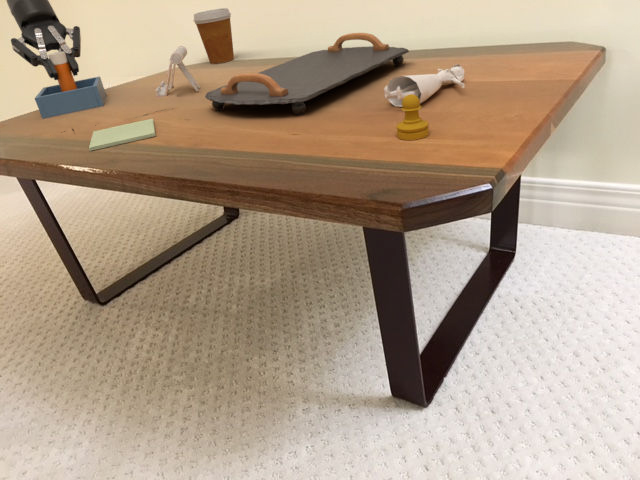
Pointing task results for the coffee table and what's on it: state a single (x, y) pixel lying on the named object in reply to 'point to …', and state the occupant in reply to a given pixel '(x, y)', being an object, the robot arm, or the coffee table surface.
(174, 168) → the coffee table surface
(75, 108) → the box
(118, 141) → the mat
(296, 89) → the serving tray
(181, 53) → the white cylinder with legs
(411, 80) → the woman figurine
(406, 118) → the chess piece
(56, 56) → the glue stick
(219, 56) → the disposable coffee cup
